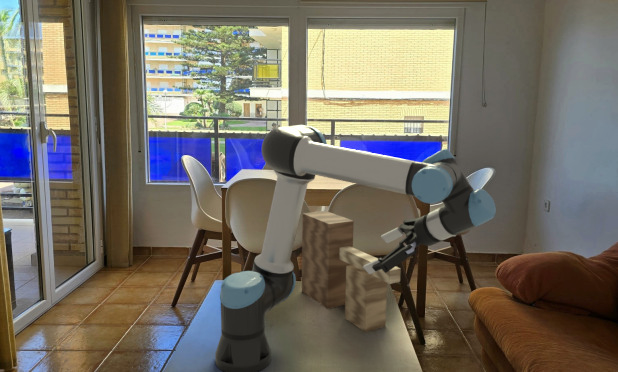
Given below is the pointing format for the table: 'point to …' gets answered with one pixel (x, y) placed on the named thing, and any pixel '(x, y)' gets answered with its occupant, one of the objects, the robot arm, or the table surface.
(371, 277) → the base pedestal
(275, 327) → the table surface
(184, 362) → the table surface
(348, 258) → the wooden block
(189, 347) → the table surface
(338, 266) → the stand
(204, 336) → the table surface
